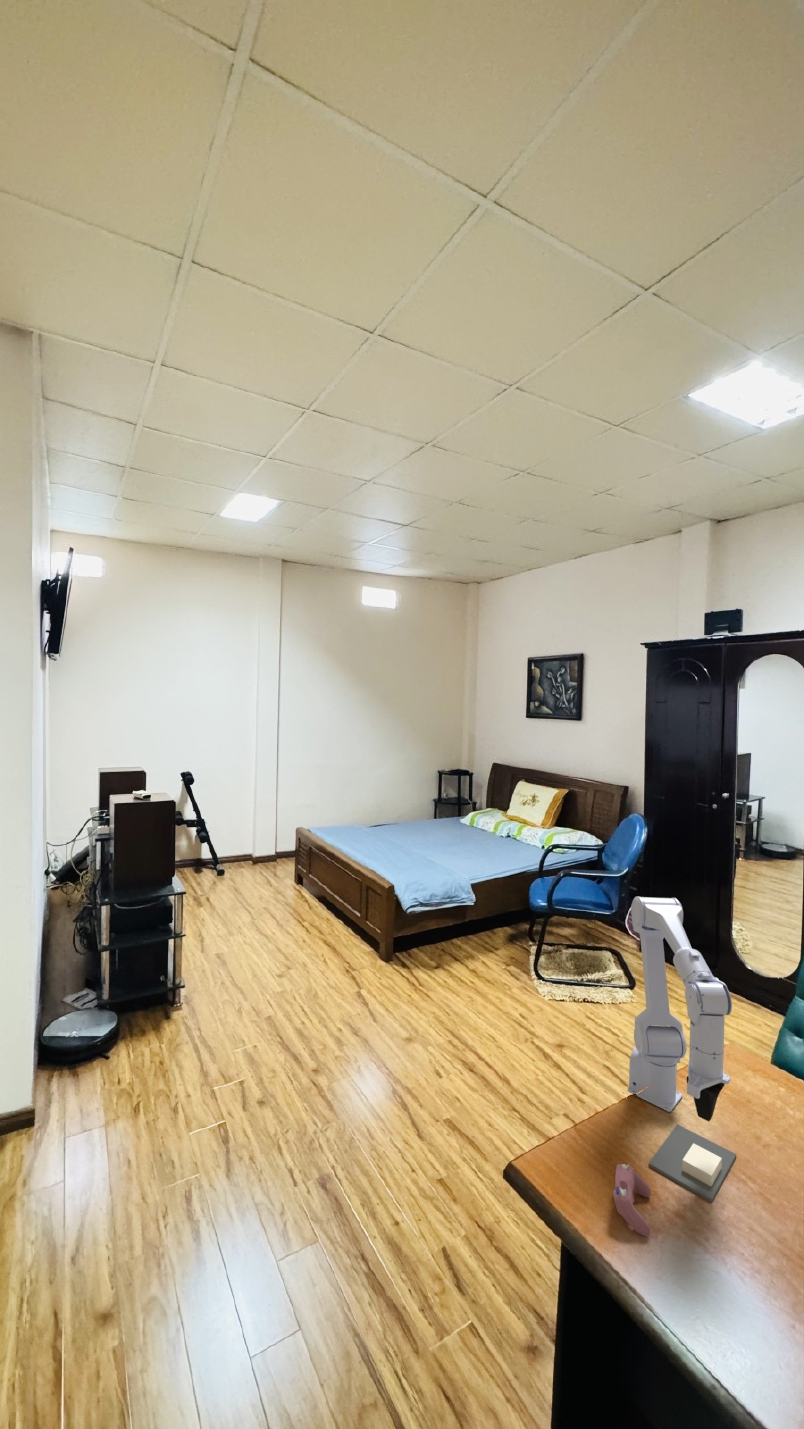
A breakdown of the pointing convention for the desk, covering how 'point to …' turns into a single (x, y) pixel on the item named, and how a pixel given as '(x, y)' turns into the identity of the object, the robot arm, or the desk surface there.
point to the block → (702, 1164)
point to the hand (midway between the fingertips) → (704, 1117)
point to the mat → (675, 1151)
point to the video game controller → (630, 1197)
